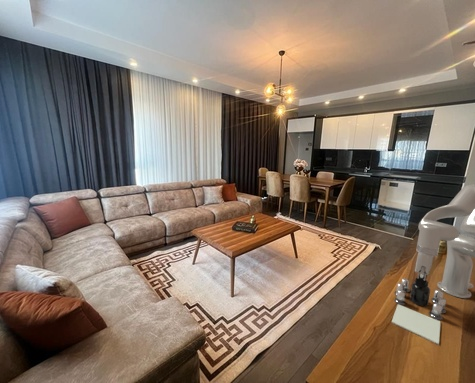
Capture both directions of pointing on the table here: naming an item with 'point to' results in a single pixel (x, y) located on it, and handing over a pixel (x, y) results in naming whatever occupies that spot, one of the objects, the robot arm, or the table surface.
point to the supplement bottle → (420, 294)
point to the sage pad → (417, 323)
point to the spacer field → (437, 300)
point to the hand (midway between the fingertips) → (420, 282)
